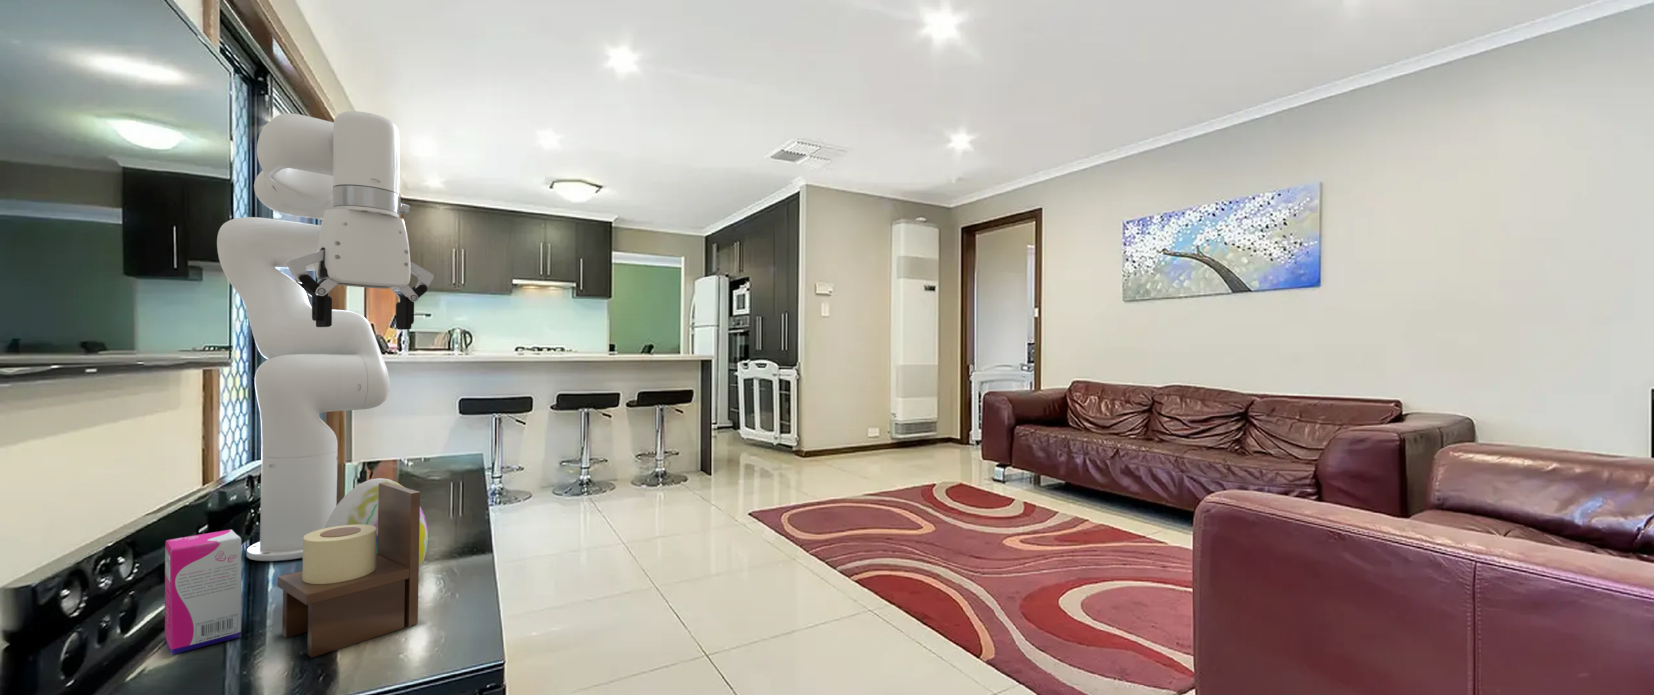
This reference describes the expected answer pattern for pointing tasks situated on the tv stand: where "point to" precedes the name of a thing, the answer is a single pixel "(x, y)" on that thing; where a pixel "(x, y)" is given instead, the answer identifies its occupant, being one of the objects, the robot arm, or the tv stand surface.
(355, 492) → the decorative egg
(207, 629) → the supplement box
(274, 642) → the tv stand surface
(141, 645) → the tv stand surface
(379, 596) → the wooden toy chair
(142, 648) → the tv stand surface
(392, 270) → the robot arm
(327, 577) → the tape roll
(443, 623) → the tv stand surface
